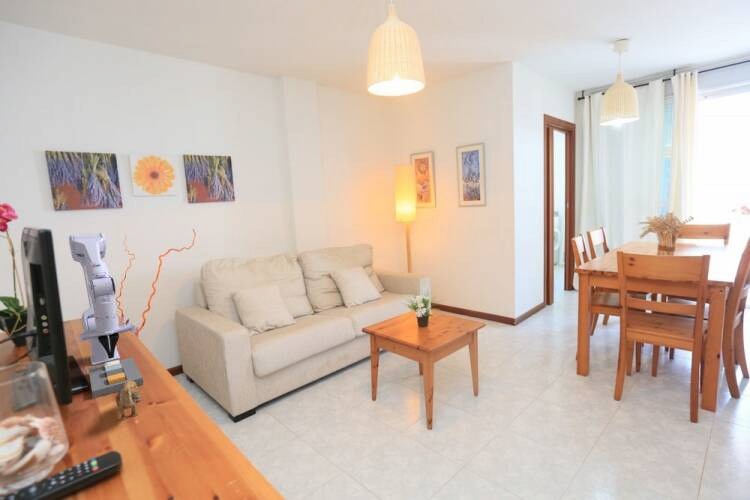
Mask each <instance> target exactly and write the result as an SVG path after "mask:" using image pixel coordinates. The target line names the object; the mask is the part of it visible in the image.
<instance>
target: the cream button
mask: <svg viewBox="0 0 750 500" xmlns="http://www.w3.org/2000/svg"><path fill="white" fill-rule="evenodd" d="M119 360H120V359H116V360H112V361H108V362H103V364H104V368H105V367H109V366H113V365H117V364H120V361H119ZM105 370H106V369H105Z"/></svg>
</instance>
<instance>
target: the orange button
mask: <svg viewBox="0 0 750 500" xmlns="http://www.w3.org/2000/svg"><path fill="white" fill-rule="evenodd" d="M107 377H108V385H110V384H114V383H118V382H121V381H125V380H126V379H125V375H124V372H123V373H119V374H115V375H111V376H107Z"/></svg>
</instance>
